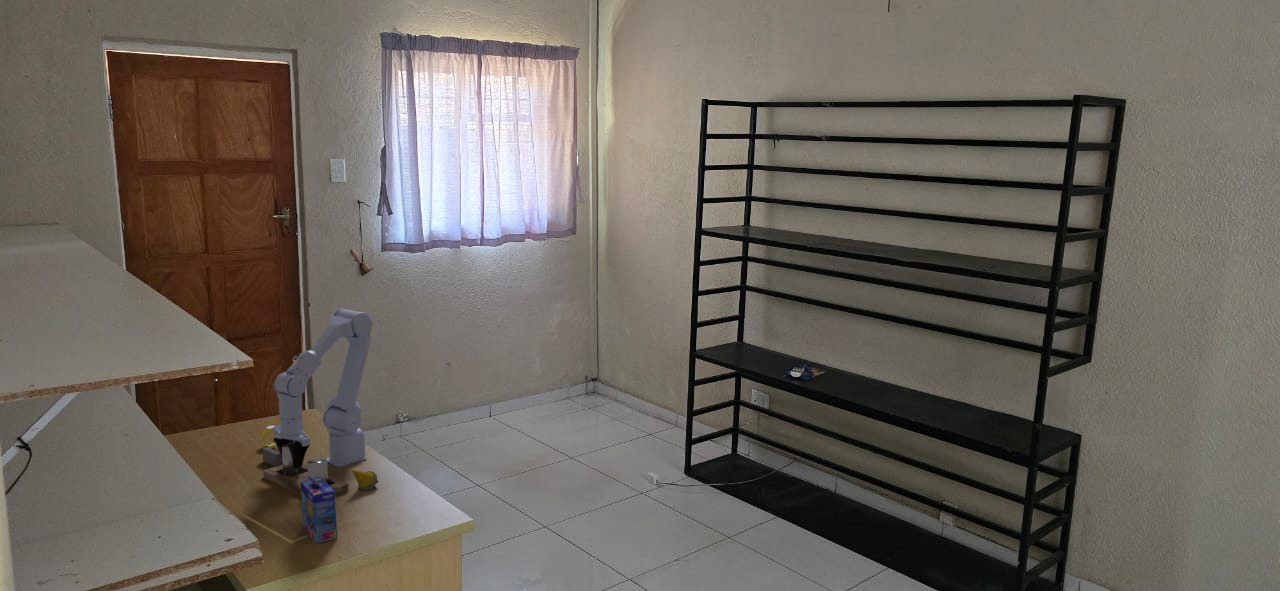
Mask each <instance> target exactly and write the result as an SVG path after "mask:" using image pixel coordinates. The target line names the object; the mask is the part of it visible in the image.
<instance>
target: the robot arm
mask: <svg viewBox="0 0 1280 591" xmlns="http://www.w3.org/2000/svg"><path fill="white" fill-rule="evenodd" d="M373 325H374V322H373V320H372V318H371V316H370V315H369V314H368V313H367V312H364V311H363V312H361V311H357V310H351V309H346V308H343V307H341V308H338V309H336V310H335V311H334V312H333V315H332V316H330V317H329V324H328V325H327V327H326V328H325V330H324V331H323V332H322V334H321V335H320V336H319V338H318V339H317V340H316V341H315V343H314V345H313V346H312V347H311V349H310V350H303V351H302V352H300V353H299V355H298V357H297V358H296V359H295V361H294V362H293V363H292V364H291V366H290V367H288V368H287V370H286V371H284V372H281V373H280V374H278V375H277V377H276V378H275V380H274V383H273V384H272V387H273V390H274V391H275V392H276V393H277V394H276V395H277V398H278V410H279V416H278V417H279V425H274V426H275V427H273V434H274V435H276V436H275V437H273V442H274V443H275V444H276V445H277V447H278V449H279V452H280V455H281V458H282V445H283V444H286V443H290V442H295V443H292V444H288V445H287V446H288V448H289V450H290V452H291V455H292V462H293V466H294V468H299V467H302V464H303V463H304V460H305V456H306V453H307V450H308V448H309V447H310V446H311V438H310V436H308V435H307V434H306V433H305V431H304V430H303V429H304V428H303V426H304V425H303V397H302V396H303V393H305V391H306V389H307V387H308V386H307V385H308V383H309V380H310V378H311V377H312V376H313V374H314V373H316V371H317V369H319V367H320V366H321V364H322V357H323V356H324V355H325V354H326V353H327V352H328V351H329V350H330V349H331V348H332V346H334V345H335V343H337V342H338V340H340V339H342V338H345V339H346V340H347V341H348V343H349V345H348V350H347V353H346V358H345V362H344V364H343V365H344V366H343V370H342V374H341V378H340V381H339V385H338V390H337V392H336V393H337V394H336V397H334V398H332V399H331V400H329V402H328V405H327V408H326V409H325V411H324V412H323V415H322V423H323V425H324V427H327V428H326V430H327V432H328V450H329V452H328V453H329V456H328V457H325V458H324V459H326V460H327V463H329V464H331V465H334V466H335V467H338V468H340V467H343V466H346V465H349V464H354V463H356V462H359V461H361V462H362V461H364V460H367V458H368V457H367V456H366V441H365V434H364V431H363V430H362V429H361V424H362V417H361V415H362V414H361V413H362V407H361V405H360V404H359V402H358V401H357V398H358V394H359V391H360V387H361V382H362V378H363V374H364V371H365V366H366V363H367V362H366V361H367V358H368V354H369V350H370V349H369V348H370V346H371V341H372V340H371V332H372V330H373Z"/></svg>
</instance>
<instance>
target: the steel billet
mask: <svg viewBox="0 0 1280 591" xmlns="http://www.w3.org/2000/svg"><path fill="white" fill-rule="evenodd" d="M292 443H295V441H294V442H290V443H286V444H283V445H282V462H283V475H284V476H287V477H292V476H296V475H299V474H301V473H302V467H299V468H294V466H293V462H292V455H291V452H290V450H289V448H288V446H287V445H288V444H292Z"/></svg>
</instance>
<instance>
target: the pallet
mask: <svg viewBox="0 0 1280 591" xmlns="http://www.w3.org/2000/svg"><path fill="white" fill-rule="evenodd" d="M262 474H263V478H264V479H265V480H268V481H270V482H272V483H274V484H276V485H277V486H279V487H282V488H284V489H286V490H288V491H290V492H292V493H294V494H296V495H298V496H300V497H302V495H301V482H302V481H305V480H308V464H305V463H304V462H303V464H302V473H301V474H299V475H296V476H292V477H287V476H284V475H283V465H280V466H276V467H273V466H272V467H269V468H266V469H263V473H262ZM328 485H329V486H331V487H332V488H333V489H334V490H335V497H336V496H339V495H342V494H344V493H348V492H349V483H347V482H345V481H344V480H340V479H338V478H336V477H334V476H332V475H330V474H328Z"/></svg>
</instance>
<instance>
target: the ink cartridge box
mask: <svg viewBox="0 0 1280 591" xmlns="http://www.w3.org/2000/svg"><path fill="white" fill-rule="evenodd" d="M309 478H310V479H311V480H305V481H302V482H301V495H302V496H301V512H302V513H301V514H302V516H301V517H302V527H303V528H304V530H305V531H306V532H307V535H308V536H309V538H310V539H311V540H312V541H313V542H314V544H319V543H323V542H327V541H332V540H336V539H338V523H337V522H338V521H337V507H336V506H337V505H336V496H335V490H334V489H333V488H332V487H331V486H329V485H328V484H327V482H326V481H325V480H324V479H323V478H321V477H320V478H316V479H312V478H311V477H310V476H309Z"/></svg>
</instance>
